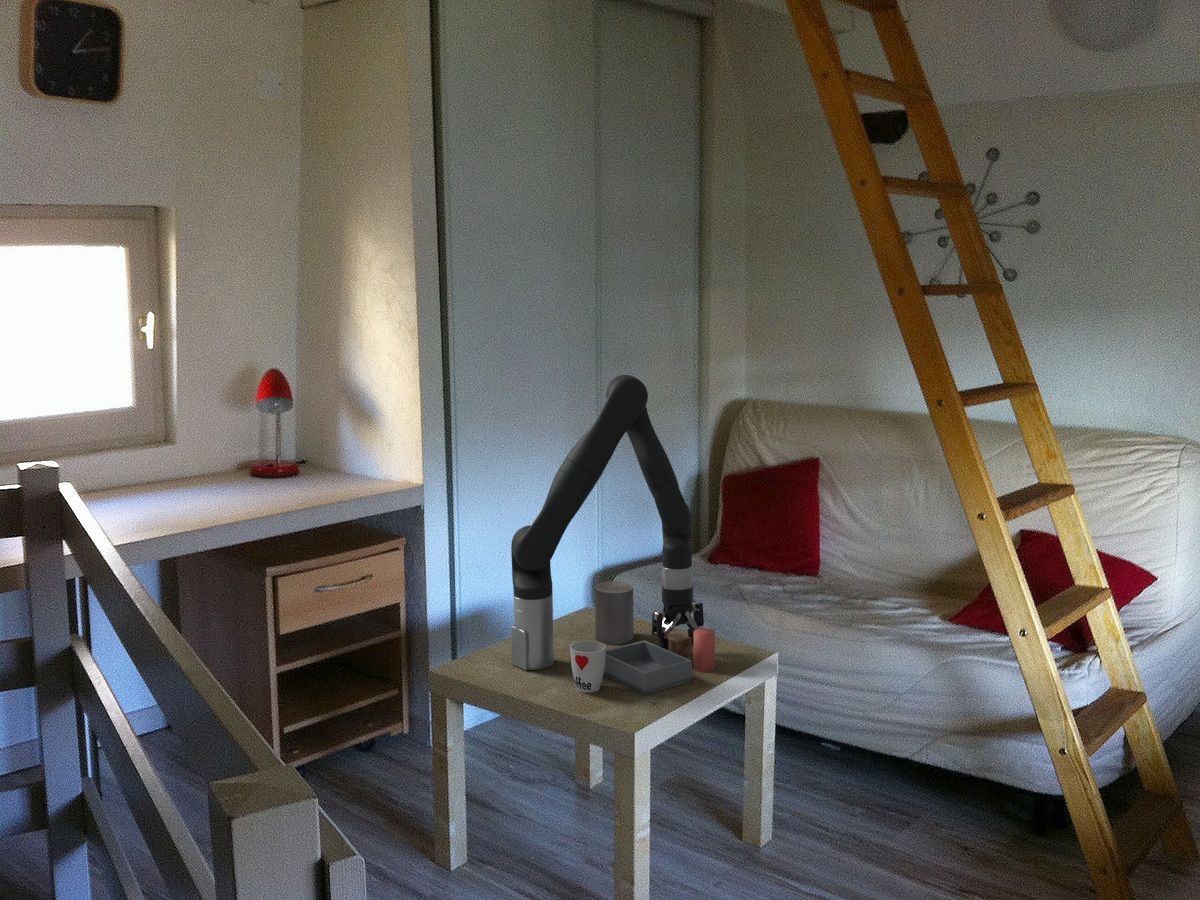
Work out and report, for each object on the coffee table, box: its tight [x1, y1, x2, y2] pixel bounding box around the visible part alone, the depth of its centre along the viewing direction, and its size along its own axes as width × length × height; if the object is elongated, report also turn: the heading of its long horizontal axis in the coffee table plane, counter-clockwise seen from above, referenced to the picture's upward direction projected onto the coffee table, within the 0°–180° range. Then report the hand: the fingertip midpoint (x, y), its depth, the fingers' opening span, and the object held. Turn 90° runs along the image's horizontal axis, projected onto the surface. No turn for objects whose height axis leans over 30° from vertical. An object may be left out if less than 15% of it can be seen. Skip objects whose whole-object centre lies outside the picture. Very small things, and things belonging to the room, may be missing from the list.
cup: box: [569, 640, 607, 694], centre depth 278 cm, size 8×8×10 cm
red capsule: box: [692, 627, 716, 673], centre depth 290 cm, size 5×5×9 cm
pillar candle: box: [594, 580, 634, 645], centre depth 311 cm, size 10×10×15 cm
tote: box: [603, 640, 693, 696], centre depth 285 cm, size 14×18×5 cm
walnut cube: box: [667, 632, 693, 659], centre depth 298 cm, size 5×5×5 cm
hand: (678, 648), depth 298 cm, fingers open, 8 cm apart
